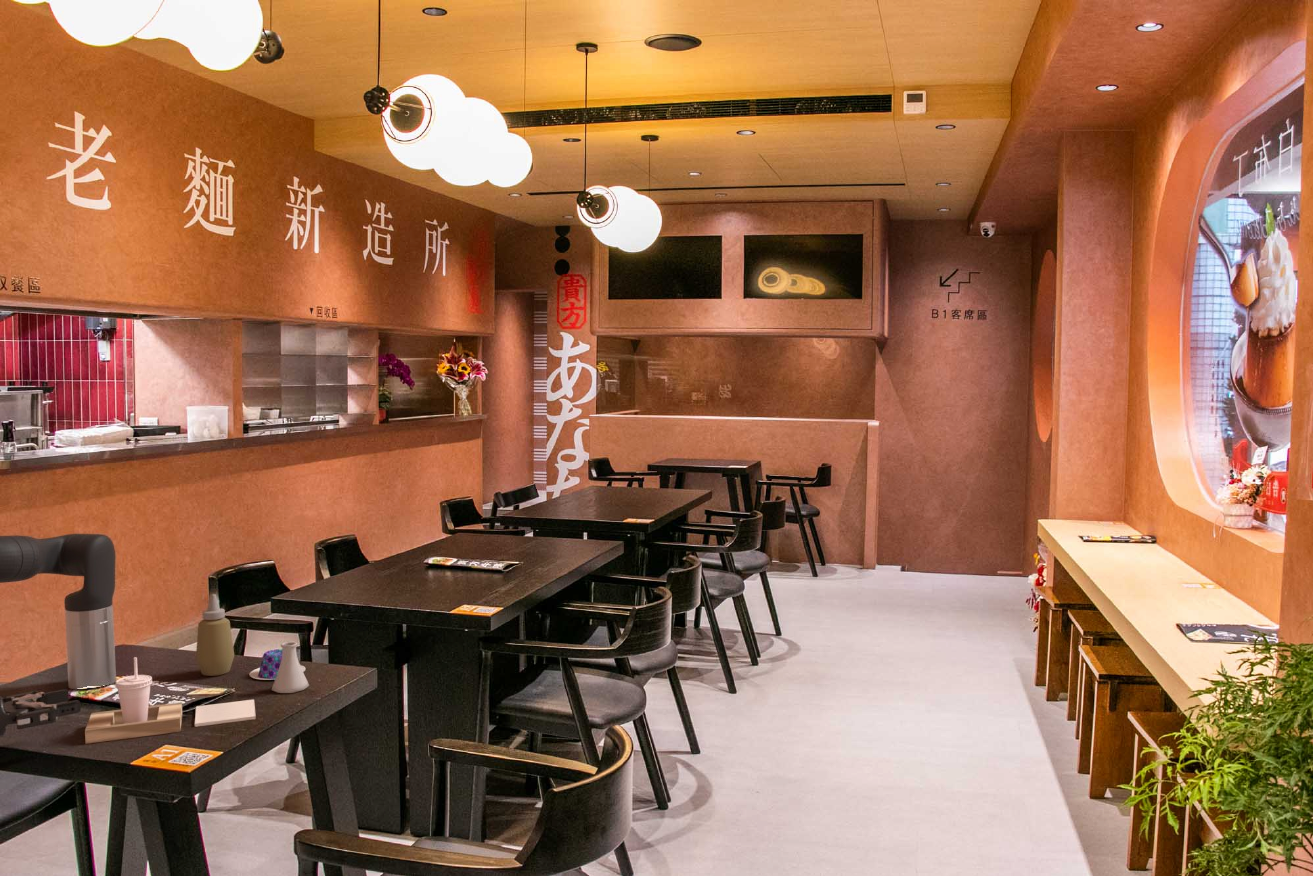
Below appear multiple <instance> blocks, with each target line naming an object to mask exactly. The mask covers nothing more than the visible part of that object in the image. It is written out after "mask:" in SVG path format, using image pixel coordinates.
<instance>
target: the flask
mask: <svg viewBox="0 0 1313 876" xmlns="http://www.w3.org/2000/svg"><path fill="white" fill-rule="evenodd" d="M297 646H298V642H296V641H287V642H283V643H281V644H280V647H281V649H282V660H281V664H280V667H279V670H278V673H277V676H276V679H275V680H274V682H273V685H272V688H271V691H273V692H276V693H278V694H279V693H280V694H294V693H297V692H302V691H304V690H305V689H307V688H308V687H309V686H310V684H309V681H308V679H307V678H306V676H305V673H304V672H303V671H302V668H301V666H300V665H301V664H300V661H299V659H298V655H297V654H298V653H297Z"/></svg>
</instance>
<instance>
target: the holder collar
mask: <svg viewBox="0 0 1313 876" xmlns="http://www.w3.org/2000/svg"><path fill="white" fill-rule="evenodd" d="M182 719H183V701H182V702H173V703H166V704H164V703H163V704H157V705H149V706H148V717H147V721H142V722H134V723H126V724H124V721H123V716H122V710H121V709H115V710H114V709H113V710H108V711H107V710H106V711H99V712H91V714H90V717H89V720H88V722H87V724H86V727H85V729H84V736H85V737H84V738H85V739H84V740H85V744H93V743H94V744H95V743H102V742H108V741H118V740H126V739H134V738H140V737H141V738H142V737H148V736H157V735H163V734H164V735H165V734H173V733H179V732H181V729H182V722H183V721H182Z"/></svg>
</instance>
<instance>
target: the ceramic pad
mask: <svg viewBox="0 0 1313 876" xmlns="http://www.w3.org/2000/svg"><path fill="white" fill-rule="evenodd" d="M255 705H256V704H255V699H246V700H240V701H231V702H223V703H222V702H221V703H215V704H206V705H205V704H204V705H197V706H196V707H195V718H194V727H195V728H196V727H204V726H211V725H219V724H220V725H221V724H228V723H236V722H243V721H250V720H251V721H252V720H256V719H257V718H256V717H257V716H256V707H255Z"/></svg>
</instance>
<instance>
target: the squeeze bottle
mask: <svg viewBox="0 0 1313 876" xmlns="http://www.w3.org/2000/svg"><path fill="white" fill-rule="evenodd" d="M225 611H226V610H225V609H224V608H220V605H219V600H218V598H217V594H215V593H213V594H210V595H209V600H208V604H207V609H204V610H203V611H202V620H200V622H197V623H198V624H197V626H198V627H197V637H196V653H195V660H196V663H197V666H198V667H199V670H200V673H201V675H203V676H207V677H209V676H211V677H213V676H220V675H225V674H227V673H229V672H230V671H231V668H232V664H233V661H234V657H235V651H234V650H235V649H234V643H233V637H232V630H231V622H230V621H231V620H229V619H228V618H226V612H225Z"/></svg>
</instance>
